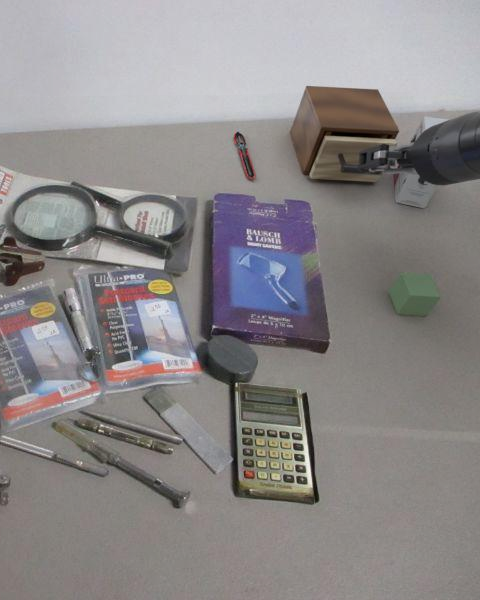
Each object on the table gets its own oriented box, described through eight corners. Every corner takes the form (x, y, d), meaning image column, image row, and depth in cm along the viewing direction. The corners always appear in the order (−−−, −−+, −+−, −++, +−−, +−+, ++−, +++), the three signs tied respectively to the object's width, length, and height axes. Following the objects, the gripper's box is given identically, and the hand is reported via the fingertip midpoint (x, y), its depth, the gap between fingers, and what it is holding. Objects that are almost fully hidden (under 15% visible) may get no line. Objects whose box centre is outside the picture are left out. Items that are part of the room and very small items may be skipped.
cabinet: (375, 178, 103) (399, 130, 96) (302, 174, 103) (321, 126, 96) (356, 136, 111) (378, 89, 104) (289, 132, 111) (306, 85, 104)
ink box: (392, 172, 104) (424, 113, 95) (422, 178, 103) (457, 119, 94) (393, 203, 99) (427, 143, 90) (425, 209, 98) (462, 149, 89)
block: (417, 293, 86) (431, 274, 83) (426, 316, 83) (441, 297, 80) (388, 292, 86) (401, 272, 83) (396, 314, 83) (410, 295, 80)
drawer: (384, 198, 98) (405, 159, 92) (315, 195, 98) (332, 156, 92) (360, 142, 108) (377, 104, 102) (297, 139, 109) (311, 100, 103)
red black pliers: (246, 180, 101) (247, 177, 101) (231, 133, 110) (232, 130, 110) (257, 181, 102) (258, 178, 101) (242, 133, 111) (242, 130, 110)
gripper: (529, 119, 69) (444, 144, 85) (406, 112, 69) (345, 138, 85) (522, 184, 69) (439, 197, 85) (399, 178, 69) (340, 191, 85)
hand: (392, 168), depth 85 cm, fingers open, 8 cm apart
